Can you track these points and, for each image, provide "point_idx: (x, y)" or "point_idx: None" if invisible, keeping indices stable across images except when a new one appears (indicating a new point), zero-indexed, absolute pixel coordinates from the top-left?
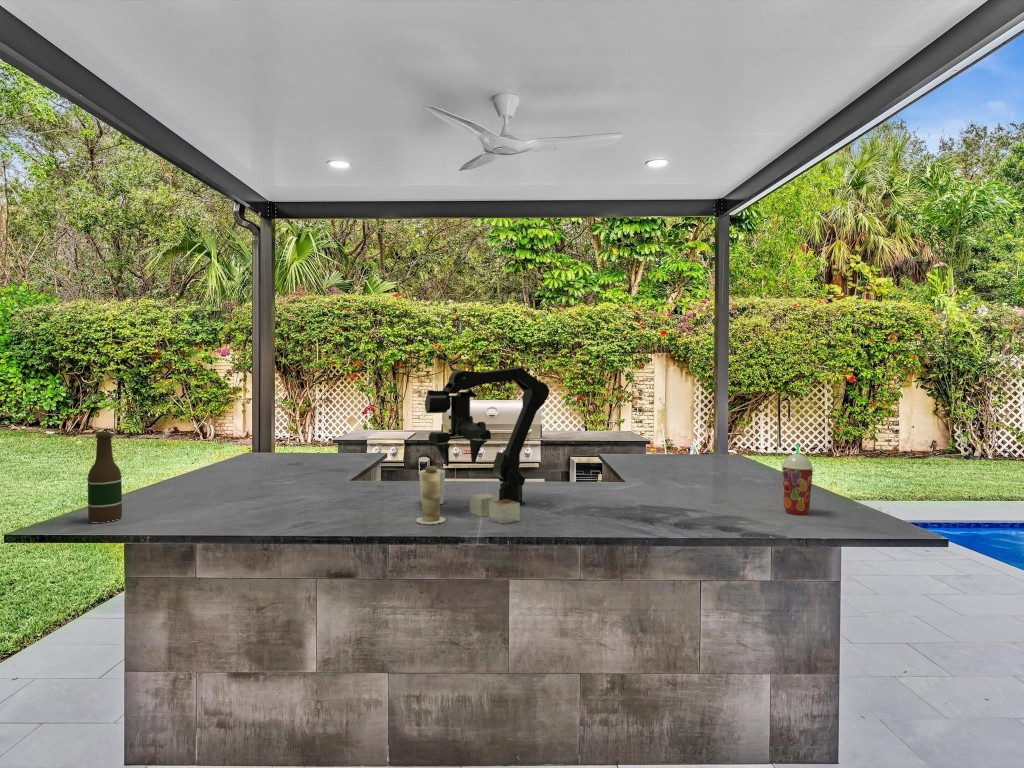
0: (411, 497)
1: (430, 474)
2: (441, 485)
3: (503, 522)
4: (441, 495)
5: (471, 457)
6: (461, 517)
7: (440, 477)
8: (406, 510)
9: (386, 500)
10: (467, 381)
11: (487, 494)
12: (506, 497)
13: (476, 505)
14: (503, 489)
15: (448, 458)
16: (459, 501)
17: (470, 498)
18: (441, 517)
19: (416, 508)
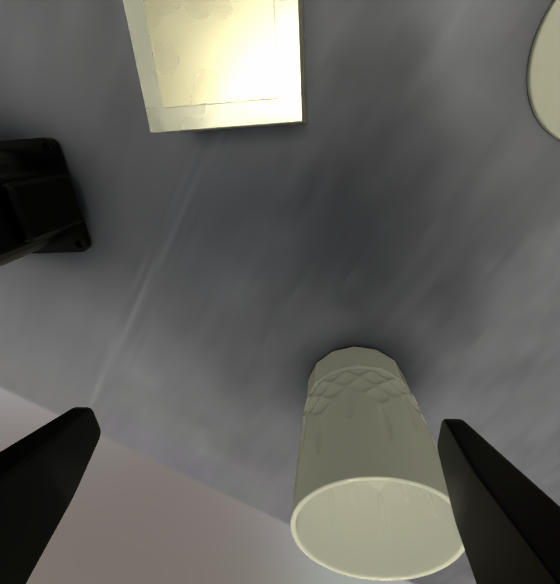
0: None
1: None
2: (344, 410)
3: None
4: (337, 375)
5: (64, 498)
6: (411, 34)
7: (360, 449)
8: (528, 341)
9: None
10: None
11: (173, 52)
12: (31, 172)
13: (301, 21)
14: (9, 201)
15: (510, 508)
16: (237, 356)
17: (302, 114)
18: (540, 64)
19: (467, 349)
